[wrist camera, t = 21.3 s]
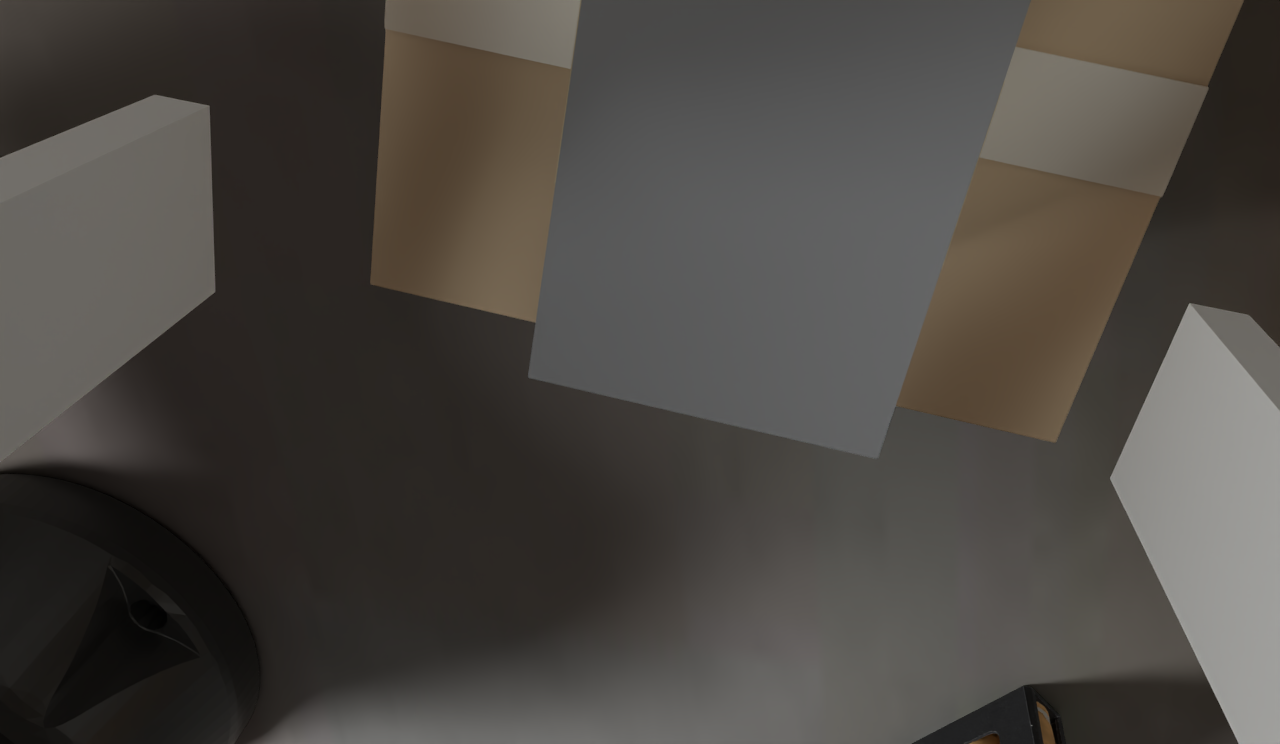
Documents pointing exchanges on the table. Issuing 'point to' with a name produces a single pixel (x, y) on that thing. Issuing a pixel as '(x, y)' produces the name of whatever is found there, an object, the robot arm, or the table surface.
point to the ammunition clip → (1005, 723)
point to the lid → (984, 236)
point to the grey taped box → (763, 203)
